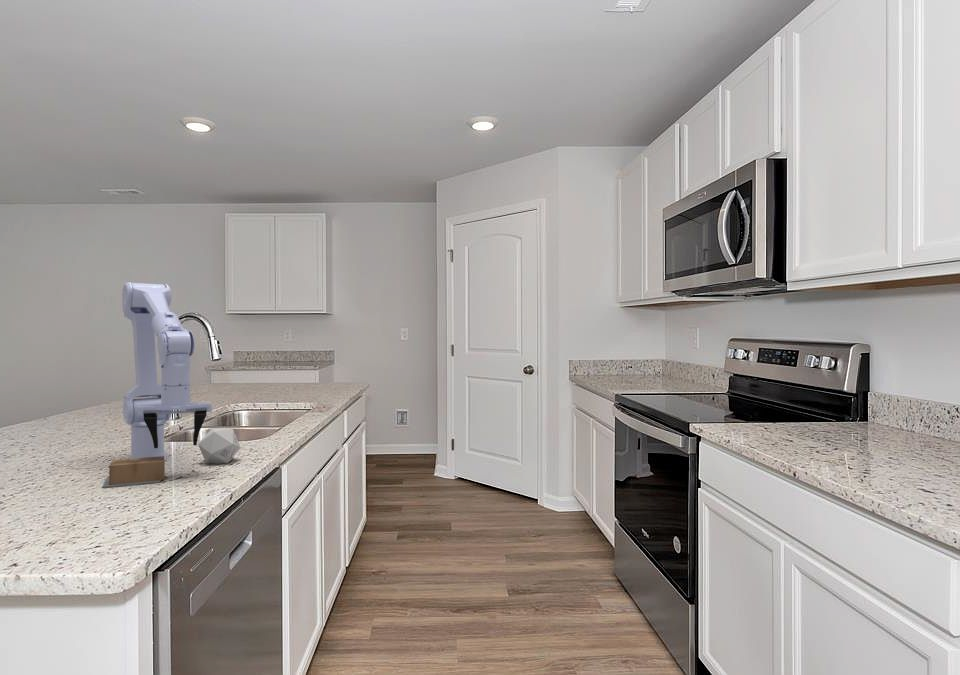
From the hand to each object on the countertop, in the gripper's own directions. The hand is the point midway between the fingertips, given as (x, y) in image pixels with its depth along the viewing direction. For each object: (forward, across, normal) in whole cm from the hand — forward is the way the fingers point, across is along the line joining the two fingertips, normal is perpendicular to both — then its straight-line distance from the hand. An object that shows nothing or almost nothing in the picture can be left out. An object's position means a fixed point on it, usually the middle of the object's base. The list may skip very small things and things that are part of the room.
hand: (175, 446), depth 131 cm
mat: (+7, -8, 0) cm, 11 cm away
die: (+7, +10, +12) cm, 17 cm away
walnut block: (+5, -2, 0) cm, 5 cm away
